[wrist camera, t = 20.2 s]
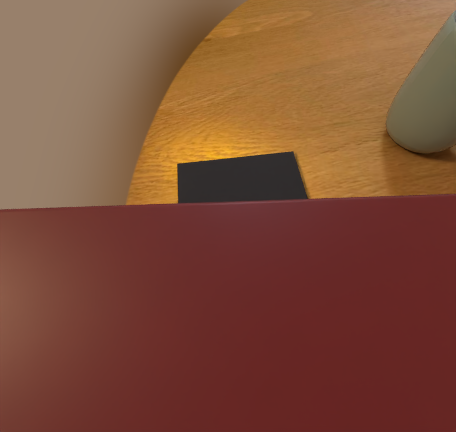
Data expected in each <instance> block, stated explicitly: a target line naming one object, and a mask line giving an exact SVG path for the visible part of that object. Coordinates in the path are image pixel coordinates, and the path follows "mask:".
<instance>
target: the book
mask: <svg viewBox="0 0 456 432" xmlns="http://www.w3.org/2000/svg"><path fill="white" fill-rule="evenodd" d="M0 432H456V194H438V195H409V196H380V197H351V198H322V199H293V200H264V201H235V202H206V203H177V204H148V205H119V206H91V207H61V208H34V209H33V208H32V209H4V210H0Z"/></svg>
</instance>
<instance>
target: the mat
mask: <svg viewBox="0 0 456 432" xmlns="http://www.w3.org/2000/svg"><path fill="white" fill-rule="evenodd" d="M177 167H178V203H206V202H235V201H264V200H293V199H308V198H307V195H306V192H305V188H304V185H303V182H302V179H301V175H300V172H299V169H298V165H297V162H296V159H295V156H294V152H283V153H274V154H265V155H255V156H246V157H237V158H227V159H218V160H208V161H199V162H190V163H180V164H177Z"/></svg>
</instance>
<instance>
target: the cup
mask: <svg viewBox="0 0 456 432" xmlns="http://www.w3.org/2000/svg"><path fill="white" fill-rule="evenodd" d="M386 130H387V132H388V134H389V136H390V137H391V138H392V140H393V141H395V142H396V143H397V144H398V145H400V146H401V147H403V148H405V149H407V150H410V151H413V152H417V153H435V152H439V151H443V150H446V149H448V148H450V147H453V146H454V145H456V10H455V11H454V12H453V13H452V14H451V16H450V17H449V18H448V19H447V20H446V22H445V23H444V24H443V26H442V27H441V28H440V30H439V31H438V33H437V34H436V35H435V37H434V38H433V40H432V41H431V42H430V44H429V45H428V47H427V48H426V50H425V51H424V53H423V54H422V55H421V57H420V58H419V60H418V61H417V63H416V64H415V66H414V67H413V68H412V70H411V71H410V73H409V74H408V76H407V78H406V79H405V81H404V82H403V84H402V85H401V87H400V89H399V90H398V92H397V94H396V96H395V98H394V99H393V101H392V103H391V106H390V108H389V110H388V113H387V116H386Z"/></svg>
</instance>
